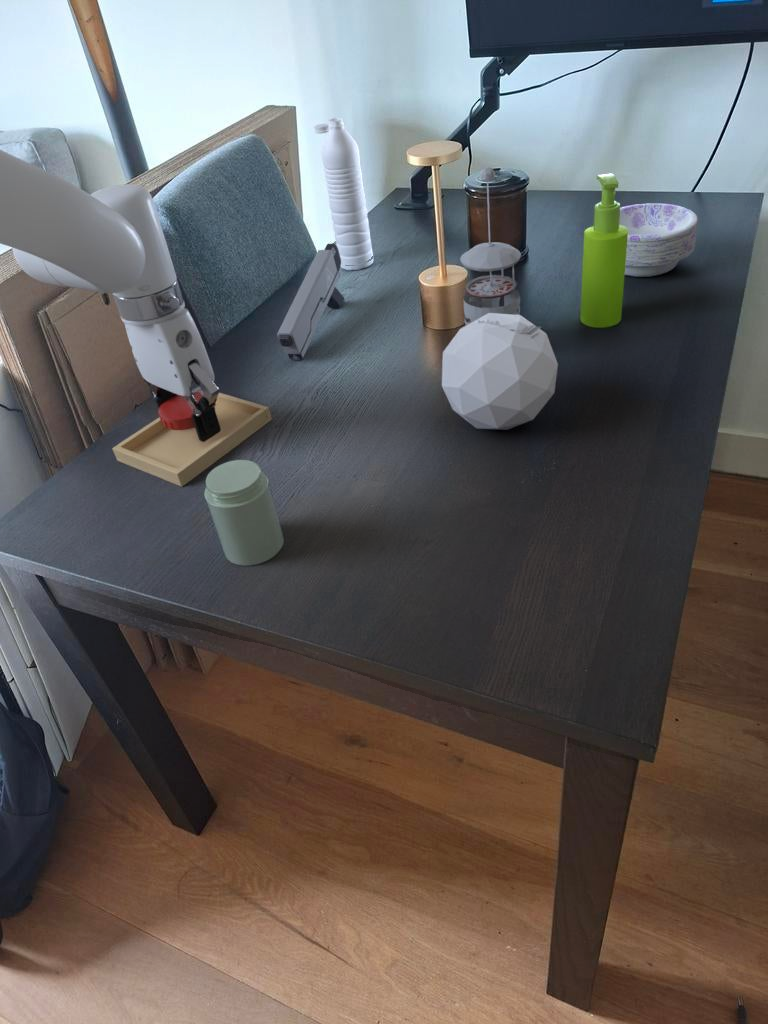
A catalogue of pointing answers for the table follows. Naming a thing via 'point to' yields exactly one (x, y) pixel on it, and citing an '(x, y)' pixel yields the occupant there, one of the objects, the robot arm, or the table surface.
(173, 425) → the jar lid
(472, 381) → the geodesic sphere
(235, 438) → the tray
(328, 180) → the water bottle
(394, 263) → the table surface
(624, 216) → the paper bowls
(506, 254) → the french press
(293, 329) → the gun
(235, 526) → the jam jar
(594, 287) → the soap dispenser
